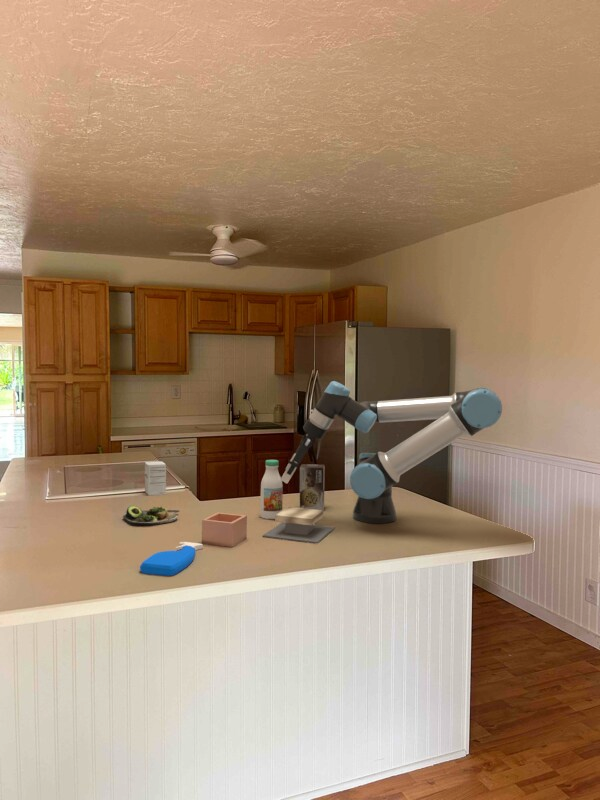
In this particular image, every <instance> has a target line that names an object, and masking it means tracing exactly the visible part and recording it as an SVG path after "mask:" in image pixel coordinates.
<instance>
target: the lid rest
mask: <svg viewBox="0 0 600 800" xmlns="http://www.w3.org/2000/svg"><path fill="white" fill-rule="evenodd" d="M335 529H336V527H335V526H327V525H326V526H325V525H318V524H317V525H316V524H315V523H314V524H313V525H303V524H294V523H285V522H280V523H279V524H278V525H276V526H274V527H273V528H272V529H270V530H269V531H266V533H264V534H262V536H261V537H262V538H268V539H276V540H283V539H284V540H285V541H293V542H301V543H307V542H309V544H315V543H318V544H319V543H320V542H321V541H323V538H324V539H325V538H326V537H327V536H328V535H329V534H330V533H332V532H333V531H334V530H335ZM332 530H333V531H332ZM331 531H332V532H331Z"/></svg>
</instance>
